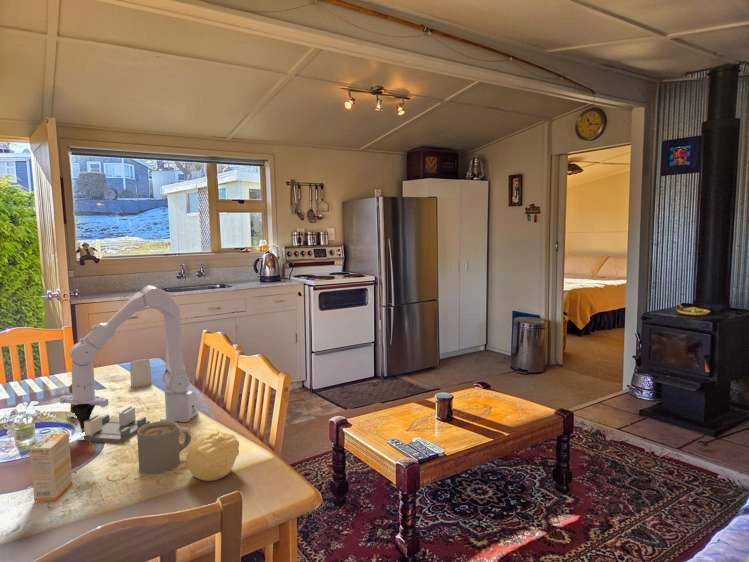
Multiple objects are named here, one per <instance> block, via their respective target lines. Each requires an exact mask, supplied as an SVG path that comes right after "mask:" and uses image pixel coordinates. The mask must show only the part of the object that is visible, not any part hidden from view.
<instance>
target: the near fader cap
mask: <svg viewBox="0 0 749 562" xmlns="http://www.w3.org/2000/svg"><path fill="white" fill-rule="evenodd" d="M102 417H103V416H102V415H99V414H95V415H94V416H92V417H90V419H88V420H87V421H85V422H84V431H85V435H93V434H94V433H96V432H98V431H99V430H101V429H103V428H102Z"/></svg>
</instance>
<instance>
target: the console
mask: <svg viewBox="0 0 749 562" xmlns="http://www.w3.org/2000/svg"><path fill="white" fill-rule="evenodd" d="M149 423H151V422H150V420H147V416H141V418H139V419H136V420H134V421H133V422H131V423H129V424H128V425H126V426H120V425H119V418H111V417H110V414H105V415H103V416H102V428H103V429H101V430H99V431H98V432H96V433H94V434H93V435H86V436H84V439H85V440H89V441H88V442H95V443H110V444H111V443H112V444H123V443H124V442H126V441H127V440H129V439H130V438H132V437H134V436H135V435H136V434H137V431H138V429H139V428H140V427H142V426H143V425H146V424H149ZM80 429H81V430H80V431H81V434H82V433H83V432H85V431H84V428H81V427H80Z"/></svg>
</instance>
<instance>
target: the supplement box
mask: <svg viewBox="0 0 749 562" xmlns="http://www.w3.org/2000/svg"><path fill="white" fill-rule="evenodd" d="M29 456H30V457H29V458H30V468H31V479H32V489H33V498H34V502H35V503H39V502H38V501H42V502H41V503H43V502H44V501H49V502H56V501H57V500H58V499H59V498H60V497H61V496H62V494H63V493H64V492H66V490H67V489H68V488H69V487H70V486H71V485H72V484H73V474H72V473H73V472H72V460H71V449H70V434H69V432H59V433H58V432H57V433H56V432H52V433H48V434H47V435H46V436H44V437H42V438H41V439H40V440H39V441H37V442H36V443H35V444H34V445H32V446H31V447H30V448H29ZM36 501H37V502H36ZM44 503H45V502H44Z"/></svg>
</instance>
